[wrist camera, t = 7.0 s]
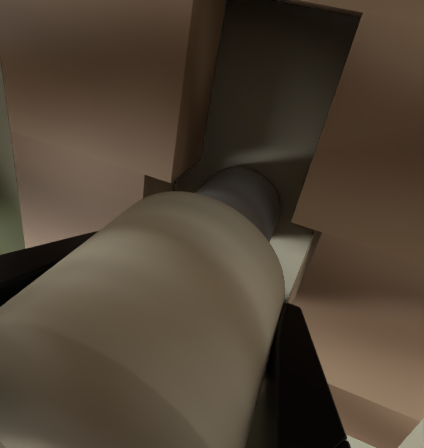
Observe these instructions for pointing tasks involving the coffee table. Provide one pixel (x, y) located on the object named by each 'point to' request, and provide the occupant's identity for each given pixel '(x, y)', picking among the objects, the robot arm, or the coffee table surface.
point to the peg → (149, 326)
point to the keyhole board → (191, 153)
